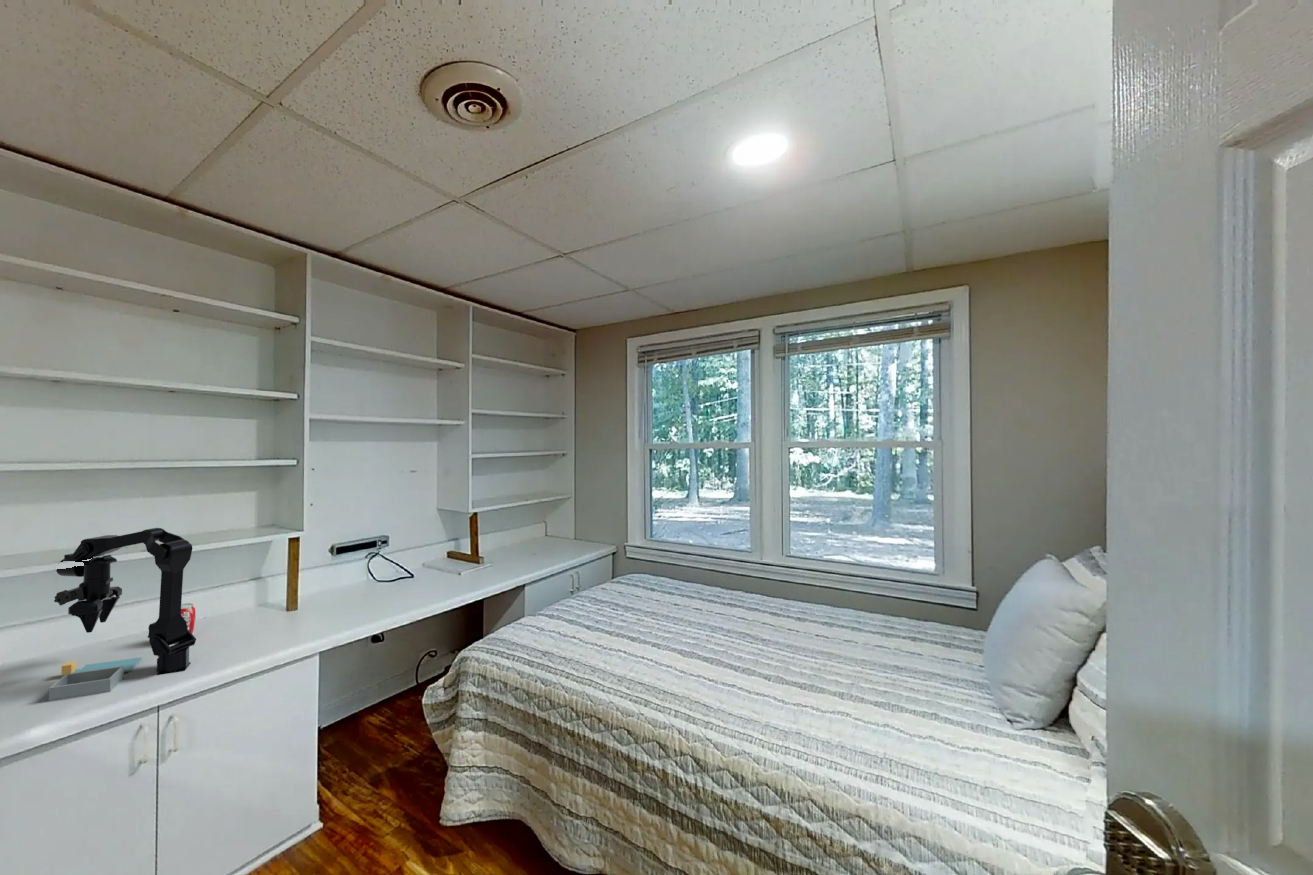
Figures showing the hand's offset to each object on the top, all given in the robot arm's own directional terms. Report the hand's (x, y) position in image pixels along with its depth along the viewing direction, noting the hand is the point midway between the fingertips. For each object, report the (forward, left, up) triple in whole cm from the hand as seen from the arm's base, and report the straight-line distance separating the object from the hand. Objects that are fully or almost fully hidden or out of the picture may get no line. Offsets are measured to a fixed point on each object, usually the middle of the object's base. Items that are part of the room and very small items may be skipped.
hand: (96, 627), depth 163 cm
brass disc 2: (-8, +20, -12) cm, 24 cm away
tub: (-5, +20, -12) cm, 24 cm away
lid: (-3, +7, -12) cm, 14 cm away
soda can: (-17, -14, -12) cm, 25 cm away
